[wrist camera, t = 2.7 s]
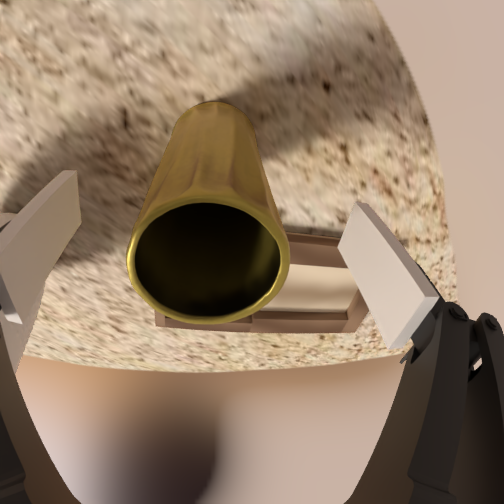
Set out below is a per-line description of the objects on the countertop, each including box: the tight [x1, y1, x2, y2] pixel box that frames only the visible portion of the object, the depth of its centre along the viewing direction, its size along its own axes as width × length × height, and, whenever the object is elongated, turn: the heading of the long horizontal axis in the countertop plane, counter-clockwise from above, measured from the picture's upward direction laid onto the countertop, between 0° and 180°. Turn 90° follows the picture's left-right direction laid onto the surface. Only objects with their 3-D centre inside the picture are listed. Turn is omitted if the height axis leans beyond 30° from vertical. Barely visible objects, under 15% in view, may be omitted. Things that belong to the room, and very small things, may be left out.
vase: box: [126, 102, 290, 324], centre depth 15 cm, size 6×6×14 cm
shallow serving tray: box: [155, 232, 369, 333], centre depth 29 cm, size 12×23×2 cm, turn 79°
